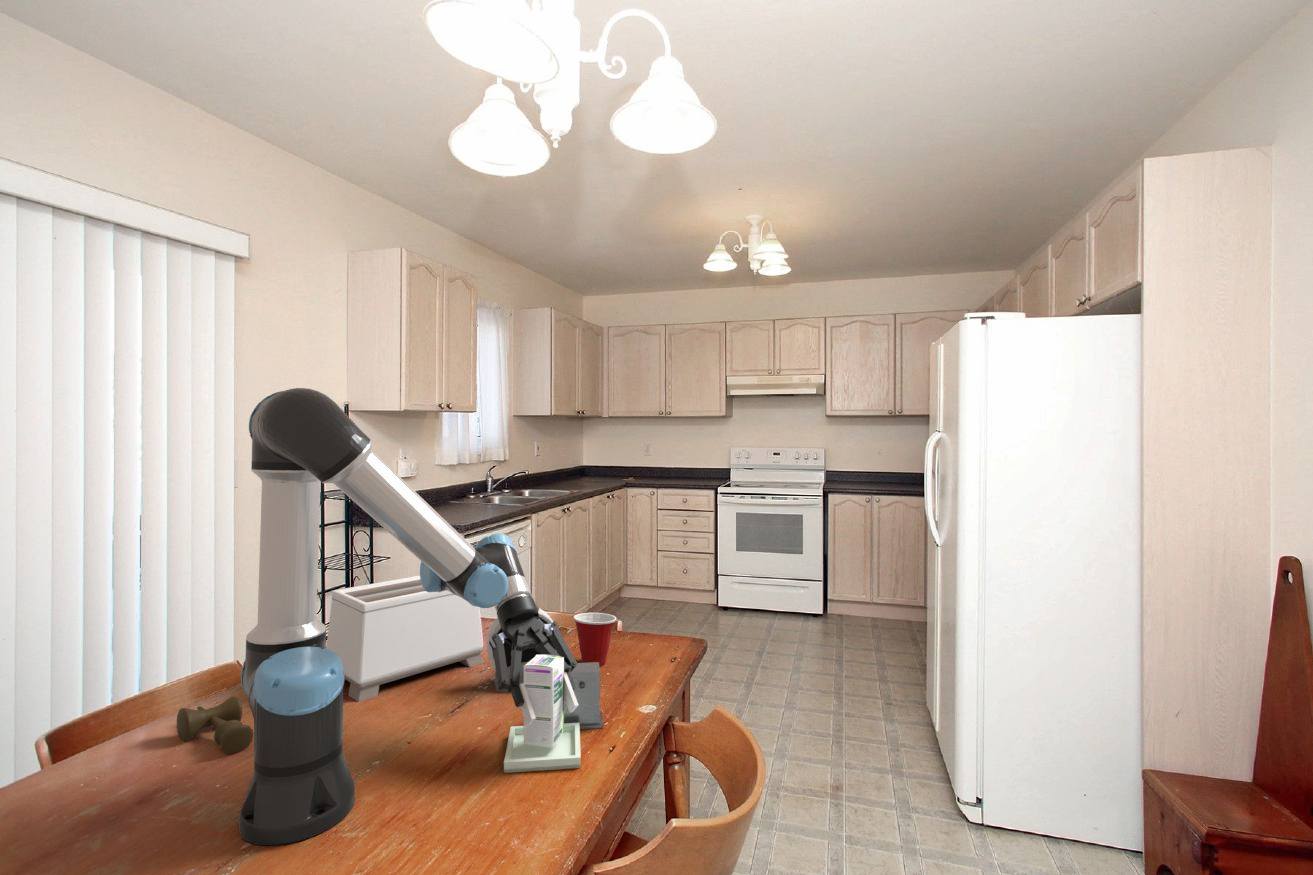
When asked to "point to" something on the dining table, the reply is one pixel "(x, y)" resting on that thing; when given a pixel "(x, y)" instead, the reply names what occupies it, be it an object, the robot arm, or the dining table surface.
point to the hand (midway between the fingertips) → (553, 715)
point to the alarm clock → (526, 653)
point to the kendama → (217, 725)
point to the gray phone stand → (586, 697)
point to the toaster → (400, 632)
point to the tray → (543, 752)
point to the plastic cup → (594, 636)
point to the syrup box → (545, 700)
